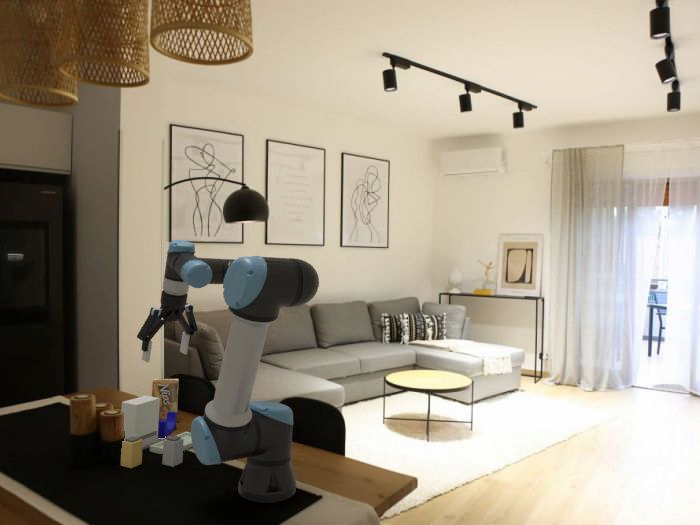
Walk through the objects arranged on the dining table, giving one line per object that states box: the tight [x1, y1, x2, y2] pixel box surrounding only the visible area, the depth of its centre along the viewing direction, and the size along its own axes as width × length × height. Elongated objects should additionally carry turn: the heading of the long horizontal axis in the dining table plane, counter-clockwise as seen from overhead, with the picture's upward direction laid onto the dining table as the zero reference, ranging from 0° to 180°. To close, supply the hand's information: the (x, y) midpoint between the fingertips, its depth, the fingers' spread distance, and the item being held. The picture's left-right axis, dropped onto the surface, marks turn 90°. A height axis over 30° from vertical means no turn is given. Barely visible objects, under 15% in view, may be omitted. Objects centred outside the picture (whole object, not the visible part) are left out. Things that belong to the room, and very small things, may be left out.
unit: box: [121, 395, 163, 451], centre depth 177 cm, size 8×12×14 cm, turn 156°
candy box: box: [151, 378, 180, 420], centre depth 202 cm, size 9×4×15 cm, turn 103°
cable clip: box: [158, 411, 178, 438], centre depth 189 cm, size 12×4×6 cm, turn 179°
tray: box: [149, 431, 193, 455], centre depth 178 cm, size 9×17×2 cm, turn 156°
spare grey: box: [161, 435, 184, 468], centre depth 163 cm, size 4×4×8 cm
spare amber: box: [120, 436, 143, 469], centre depth 161 cm, size 4×4×8 cm
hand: (164, 356), depth 172 cm, fingers open, 13 cm apart
